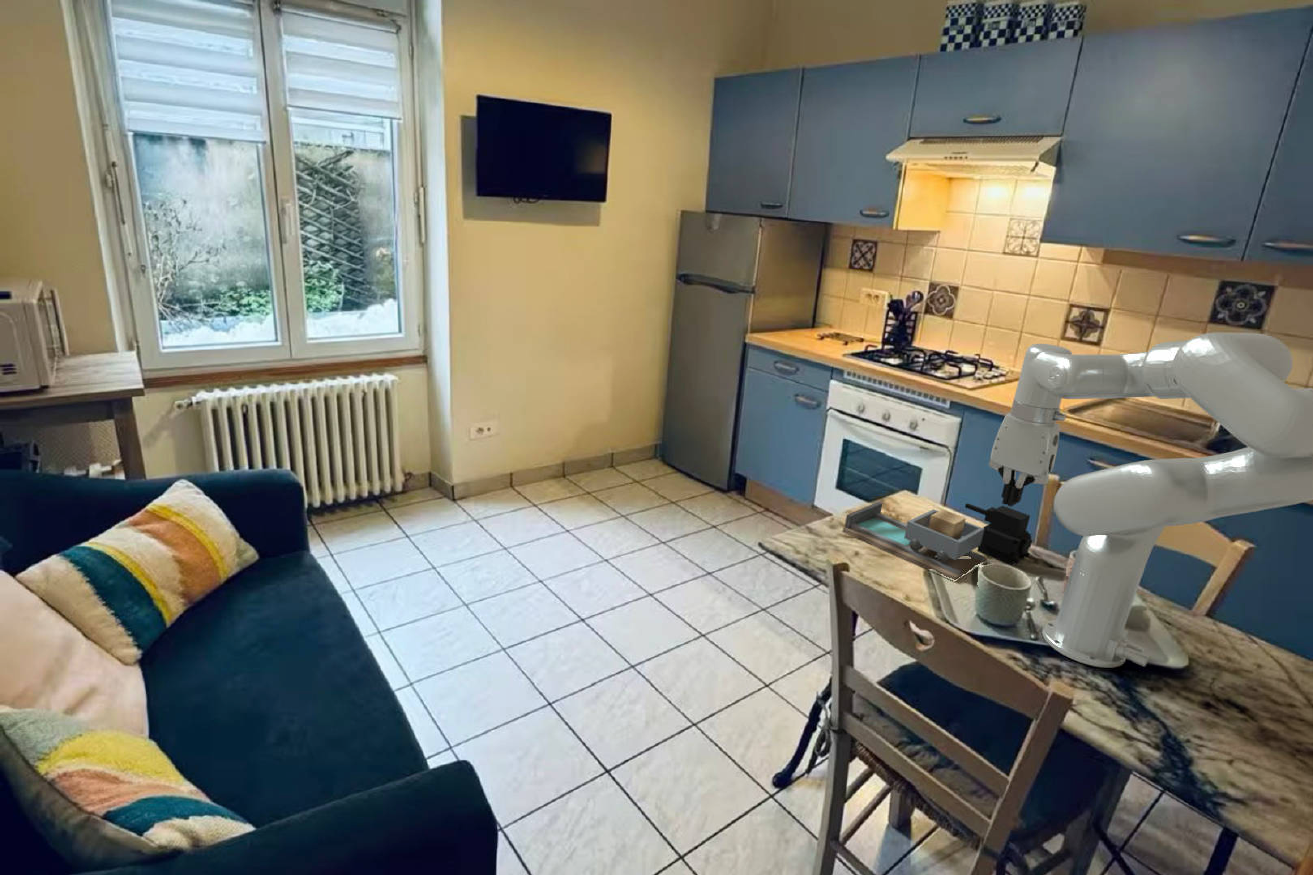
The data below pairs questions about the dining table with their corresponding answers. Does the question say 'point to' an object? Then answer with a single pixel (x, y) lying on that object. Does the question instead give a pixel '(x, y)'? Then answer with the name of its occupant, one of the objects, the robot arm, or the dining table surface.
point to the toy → (1004, 534)
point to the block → (947, 524)
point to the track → (902, 542)
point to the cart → (942, 538)
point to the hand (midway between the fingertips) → (1009, 503)
